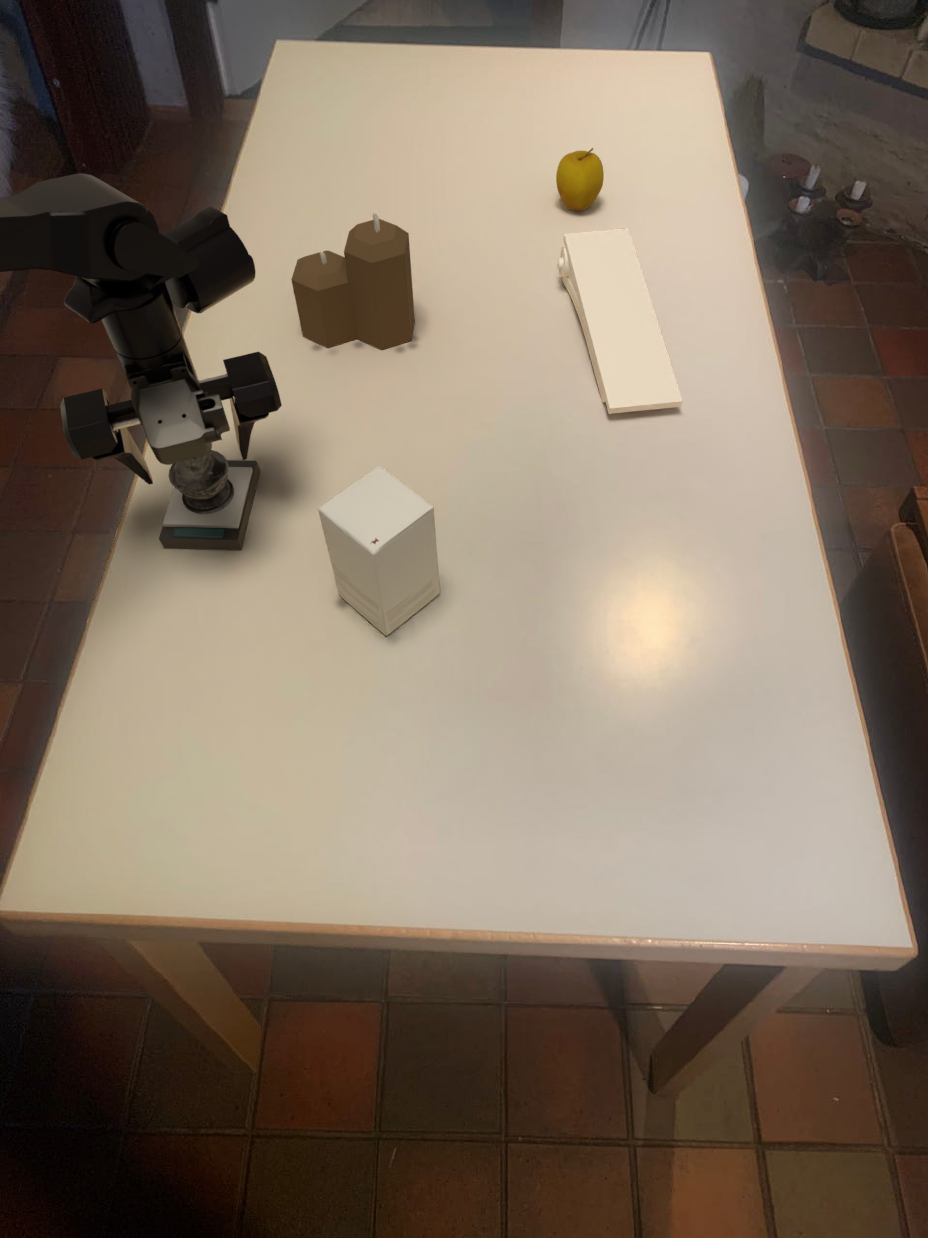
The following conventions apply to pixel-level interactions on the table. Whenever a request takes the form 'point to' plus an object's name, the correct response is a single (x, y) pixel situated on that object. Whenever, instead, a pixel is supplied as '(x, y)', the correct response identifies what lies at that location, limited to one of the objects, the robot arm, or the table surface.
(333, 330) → the candle
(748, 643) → the table surface
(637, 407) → the wall bracket
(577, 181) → the apple
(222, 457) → the pepper mill
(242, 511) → the kitchen scale
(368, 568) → the white packaging box
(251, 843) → the table surface
